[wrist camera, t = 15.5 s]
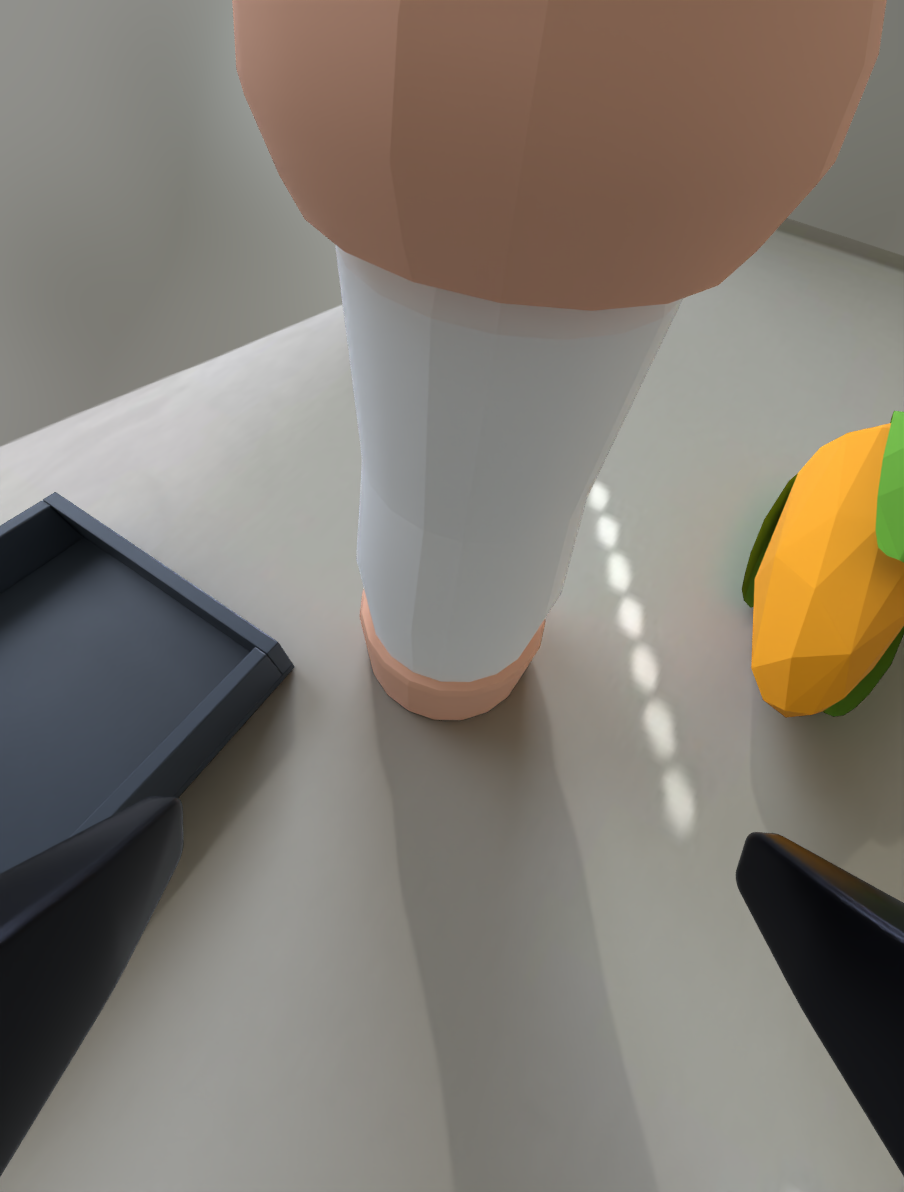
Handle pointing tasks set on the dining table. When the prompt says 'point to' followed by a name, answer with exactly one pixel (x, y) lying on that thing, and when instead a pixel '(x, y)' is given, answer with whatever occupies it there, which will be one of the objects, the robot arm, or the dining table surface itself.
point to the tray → (109, 677)
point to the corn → (831, 576)
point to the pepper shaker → (525, 261)
